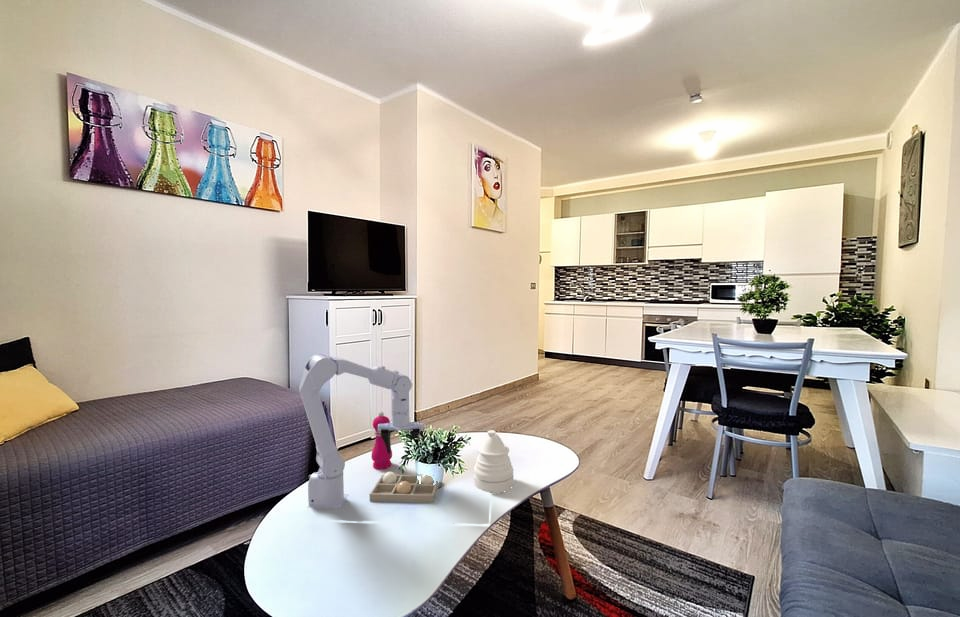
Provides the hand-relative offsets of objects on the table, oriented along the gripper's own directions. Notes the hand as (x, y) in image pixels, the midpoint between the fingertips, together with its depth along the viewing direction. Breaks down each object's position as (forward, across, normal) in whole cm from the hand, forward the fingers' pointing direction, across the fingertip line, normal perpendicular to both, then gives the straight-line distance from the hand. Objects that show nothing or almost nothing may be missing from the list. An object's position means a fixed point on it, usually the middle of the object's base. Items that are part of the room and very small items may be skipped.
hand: (401, 452), depth 135 cm
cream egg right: (+10, +9, -4) cm, 14 cm away
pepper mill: (+11, -9, +13) cm, 19 cm away
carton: (+10, +2, -6) cm, 12 cm away
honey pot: (+11, +30, -2) cm, 32 cm away
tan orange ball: (+10, +2, -9) cm, 14 cm away
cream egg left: (+10, -3, -3) cm, 11 cm away
